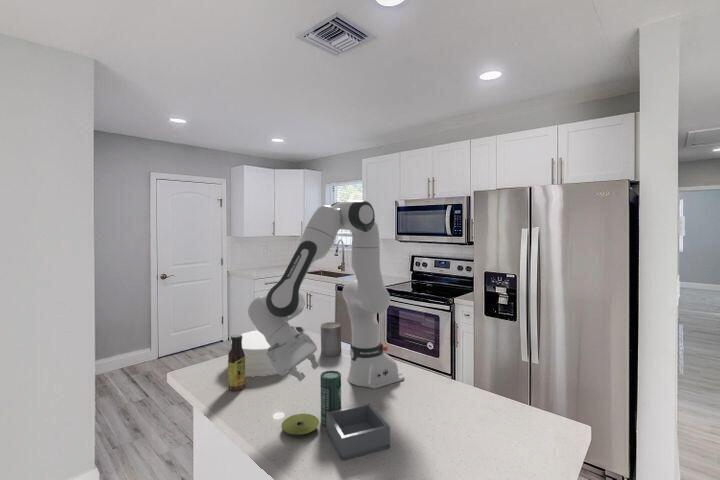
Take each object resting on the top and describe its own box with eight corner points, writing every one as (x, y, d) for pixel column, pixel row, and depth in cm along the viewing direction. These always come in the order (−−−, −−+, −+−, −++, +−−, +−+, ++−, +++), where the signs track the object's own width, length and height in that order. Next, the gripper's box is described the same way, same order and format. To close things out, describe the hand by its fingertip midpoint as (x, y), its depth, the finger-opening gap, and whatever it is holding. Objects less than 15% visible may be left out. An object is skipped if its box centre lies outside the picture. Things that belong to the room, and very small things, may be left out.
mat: (326, 430, 107) (326, 424, 107) (292, 445, 100) (292, 439, 100) (307, 415, 115) (307, 409, 115) (274, 428, 108) (274, 421, 108)
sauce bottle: (240, 392, 132) (239, 339, 131) (224, 390, 133) (223, 338, 132) (249, 384, 138) (248, 333, 137) (234, 383, 139) (233, 332, 138)
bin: (369, 421, 112) (369, 403, 111) (389, 447, 99) (389, 426, 98) (326, 431, 106) (326, 412, 106) (342, 460, 93) (341, 438, 93)
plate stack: (308, 364, 159) (308, 338, 158) (249, 383, 139) (249, 354, 139) (276, 348, 179) (275, 325, 178) (220, 363, 160) (220, 338, 159)
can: (344, 421, 112) (344, 374, 111) (329, 429, 108) (329, 380, 107) (332, 414, 116) (331, 368, 116) (317, 421, 112) (317, 374, 111)
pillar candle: (334, 348, 178) (333, 318, 178) (345, 353, 170) (344, 322, 170) (317, 352, 173) (316, 321, 172) (327, 358, 165) (327, 326, 164)
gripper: (270, 343, 106) (299, 380, 103) (304, 325, 125) (330, 356, 122) (258, 356, 108) (286, 393, 105) (293, 336, 127) (318, 367, 124)
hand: (310, 373), depth 114 cm, fingers open, 8 cm apart
